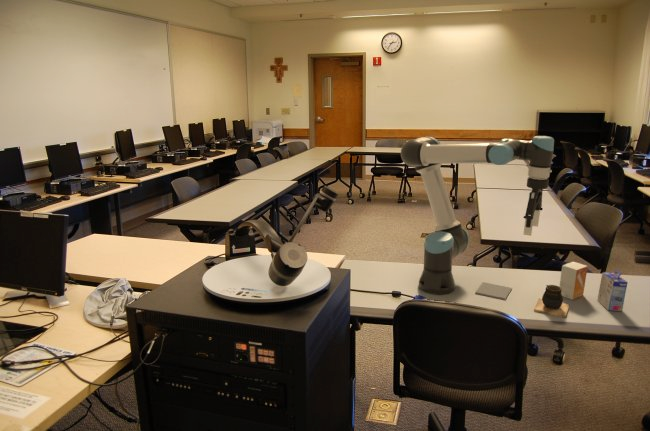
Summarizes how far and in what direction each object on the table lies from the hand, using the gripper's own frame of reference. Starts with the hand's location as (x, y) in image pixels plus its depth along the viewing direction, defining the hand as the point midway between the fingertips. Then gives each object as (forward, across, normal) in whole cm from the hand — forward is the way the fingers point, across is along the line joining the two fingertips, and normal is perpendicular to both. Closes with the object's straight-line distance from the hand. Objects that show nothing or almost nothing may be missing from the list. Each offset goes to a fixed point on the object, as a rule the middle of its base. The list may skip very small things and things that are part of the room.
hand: (530, 230), depth 189 cm
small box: (+28, +11, -17) cm, 34 cm away
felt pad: (+29, -2, +11) cm, 31 cm away
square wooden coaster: (+28, -6, -12) cm, 31 cm away
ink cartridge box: (+28, +8, -31) cm, 42 cm away
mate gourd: (+27, -6, -12) cm, 31 cm away
